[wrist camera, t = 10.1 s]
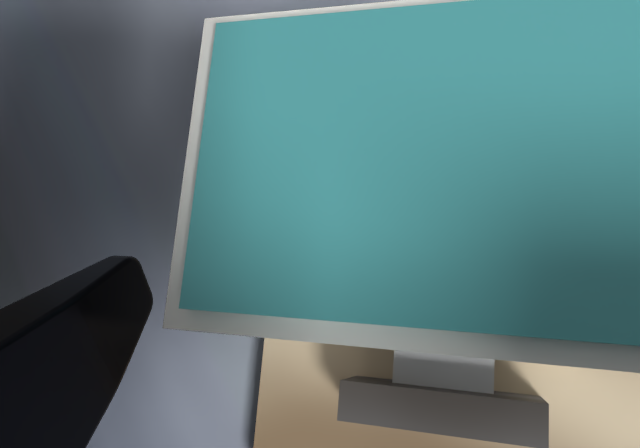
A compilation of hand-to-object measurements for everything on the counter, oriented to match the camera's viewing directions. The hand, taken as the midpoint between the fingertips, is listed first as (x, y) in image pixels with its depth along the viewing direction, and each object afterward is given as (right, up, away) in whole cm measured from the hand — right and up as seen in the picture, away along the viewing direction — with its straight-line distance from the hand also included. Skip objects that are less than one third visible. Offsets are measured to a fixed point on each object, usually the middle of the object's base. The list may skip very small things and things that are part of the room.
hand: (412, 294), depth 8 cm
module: (+2, 0, +8) cm, 8 cm away
